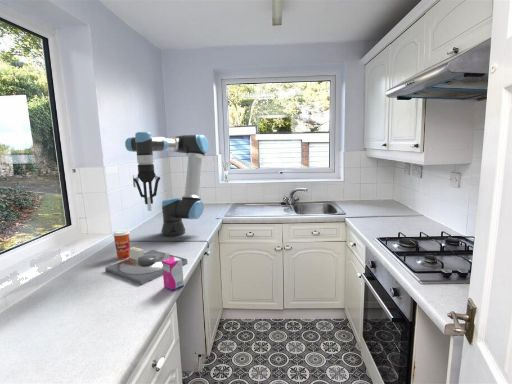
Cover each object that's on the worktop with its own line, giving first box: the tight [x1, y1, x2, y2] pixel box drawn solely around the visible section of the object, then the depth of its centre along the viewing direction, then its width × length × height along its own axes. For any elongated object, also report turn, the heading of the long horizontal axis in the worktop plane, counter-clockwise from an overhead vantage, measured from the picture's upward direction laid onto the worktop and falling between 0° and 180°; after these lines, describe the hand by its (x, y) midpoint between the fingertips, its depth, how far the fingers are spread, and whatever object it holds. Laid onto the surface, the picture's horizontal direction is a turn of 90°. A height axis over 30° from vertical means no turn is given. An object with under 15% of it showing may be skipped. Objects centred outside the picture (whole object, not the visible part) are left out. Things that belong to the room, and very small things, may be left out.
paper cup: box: [112, 228, 131, 260], centre depth 152 cm, size 8×8×14 cm
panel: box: [104, 249, 188, 286], centre depth 139 cm, size 26×26×3 cm
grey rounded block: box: [129, 246, 156, 266], centre depth 141 cm, size 15×8×6 cm, turn 59°
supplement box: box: [162, 257, 185, 292], centre depth 119 cm, size 6×6×12 cm
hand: (149, 210), depth 150 cm, fingers closed
